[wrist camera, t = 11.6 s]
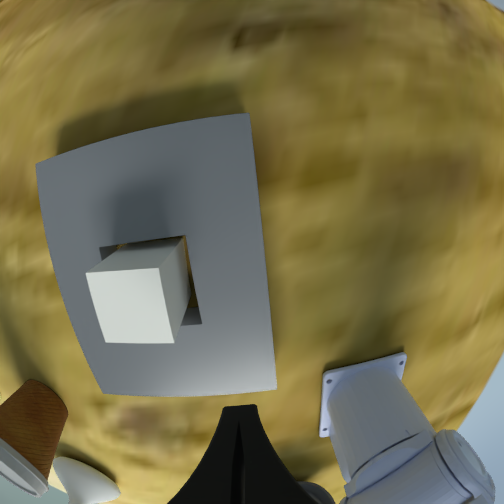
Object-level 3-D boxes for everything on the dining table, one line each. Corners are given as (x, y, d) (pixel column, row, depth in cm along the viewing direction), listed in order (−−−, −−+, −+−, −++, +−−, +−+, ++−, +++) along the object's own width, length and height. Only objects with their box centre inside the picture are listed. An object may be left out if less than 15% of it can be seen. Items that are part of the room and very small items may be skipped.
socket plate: (273, 368, 21) (277, 389, 19) (112, 375, 21) (103, 393, 18) (247, 121, 16) (249, 112, 14) (55, 163, 16) (35, 164, 13)
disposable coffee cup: (4, 369, 21) (-45, 428, 9) (46, 365, 20) (-11, 445, 9) (47, 425, 23) (14, 487, 12) (95, 429, 23) (63, 509, 12)
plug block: (191, 294, 19) (174, 343, 13) (138, 297, 19) (105, 342, 13) (183, 237, 18) (158, 267, 12) (127, 243, 18) (85, 272, 12)
